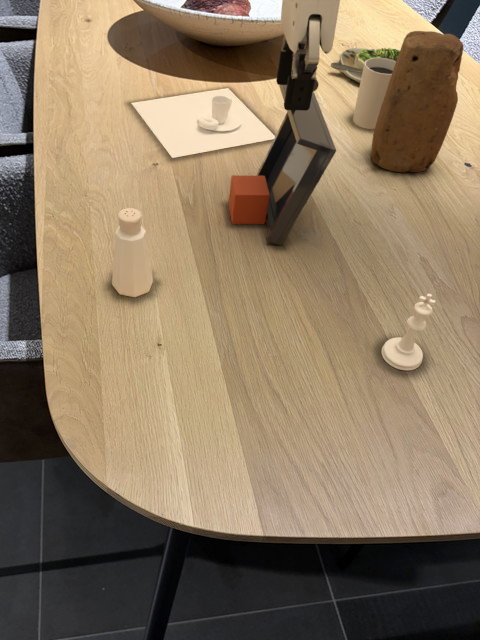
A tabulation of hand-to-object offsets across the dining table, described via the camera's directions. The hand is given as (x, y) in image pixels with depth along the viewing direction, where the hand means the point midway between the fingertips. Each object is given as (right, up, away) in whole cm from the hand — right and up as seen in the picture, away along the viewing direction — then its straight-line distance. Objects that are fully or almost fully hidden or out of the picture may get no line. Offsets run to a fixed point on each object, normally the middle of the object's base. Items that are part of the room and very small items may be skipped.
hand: (292, 95), depth 78 cm
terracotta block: (-5, -9, +10) cm, 14 cm away
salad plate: (+26, +26, +48) cm, 60 cm away
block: (+22, 0, +25) cm, 34 cm away
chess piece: (+13, -34, -4) cm, 36 cm away
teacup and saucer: (-11, +10, +31) cm, 35 cm away
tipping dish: (+3, -5, +6) cm, 9 cm away
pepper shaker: (-21, -24, +2) cm, 32 cm away
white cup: (+19, +11, +34) cm, 41 cm away
